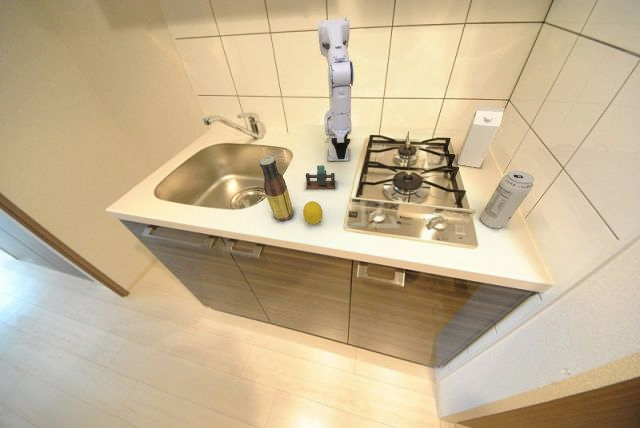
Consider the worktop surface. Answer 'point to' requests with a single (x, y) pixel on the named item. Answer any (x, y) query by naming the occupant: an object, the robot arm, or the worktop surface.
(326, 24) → the robot arm
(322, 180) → the clip
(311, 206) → the lemon
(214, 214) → the worktop surface
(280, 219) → the sauce bottle
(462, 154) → the milk carton
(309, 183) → the handle rail
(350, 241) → the worktop surface
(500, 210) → the energy drink can
